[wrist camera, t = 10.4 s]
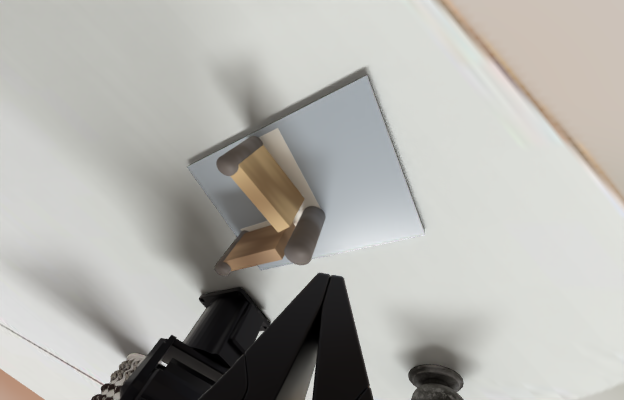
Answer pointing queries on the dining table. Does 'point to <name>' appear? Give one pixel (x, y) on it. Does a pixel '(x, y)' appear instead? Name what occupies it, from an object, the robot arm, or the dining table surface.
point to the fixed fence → (274, 244)
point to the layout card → (328, 174)
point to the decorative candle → (119, 378)
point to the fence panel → (262, 181)
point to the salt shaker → (435, 383)
